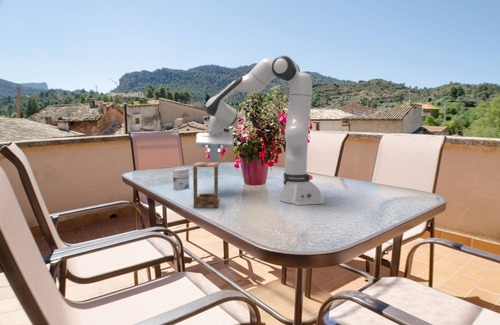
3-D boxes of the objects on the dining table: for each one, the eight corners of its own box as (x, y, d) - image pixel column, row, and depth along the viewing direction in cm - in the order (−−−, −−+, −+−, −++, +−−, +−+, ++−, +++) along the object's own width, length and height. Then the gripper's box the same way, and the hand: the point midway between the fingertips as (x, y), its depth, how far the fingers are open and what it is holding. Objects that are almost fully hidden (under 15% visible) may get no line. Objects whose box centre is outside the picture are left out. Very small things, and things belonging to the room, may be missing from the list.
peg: (217, 162, 158) (218, 143, 157) (217, 163, 154) (217, 144, 153) (210, 162, 158) (210, 143, 157) (209, 163, 154) (209, 144, 153)
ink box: (183, 186, 183) (183, 167, 181) (189, 188, 180) (189, 168, 178) (172, 189, 176) (172, 169, 174) (178, 190, 173) (178, 170, 172)
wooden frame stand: (219, 200, 152) (219, 161, 149) (217, 207, 138) (217, 165, 135) (197, 200, 151) (197, 161, 149) (193, 207, 137) (193, 164, 135)
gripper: (196, 128, 160) (193, 148, 152) (234, 130, 161) (233, 149, 153) (197, 136, 165) (194, 155, 157) (234, 138, 166) (233, 157, 158)
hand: (213, 152), depth 155 cm, fingers closed on peg, 4 cm apart
